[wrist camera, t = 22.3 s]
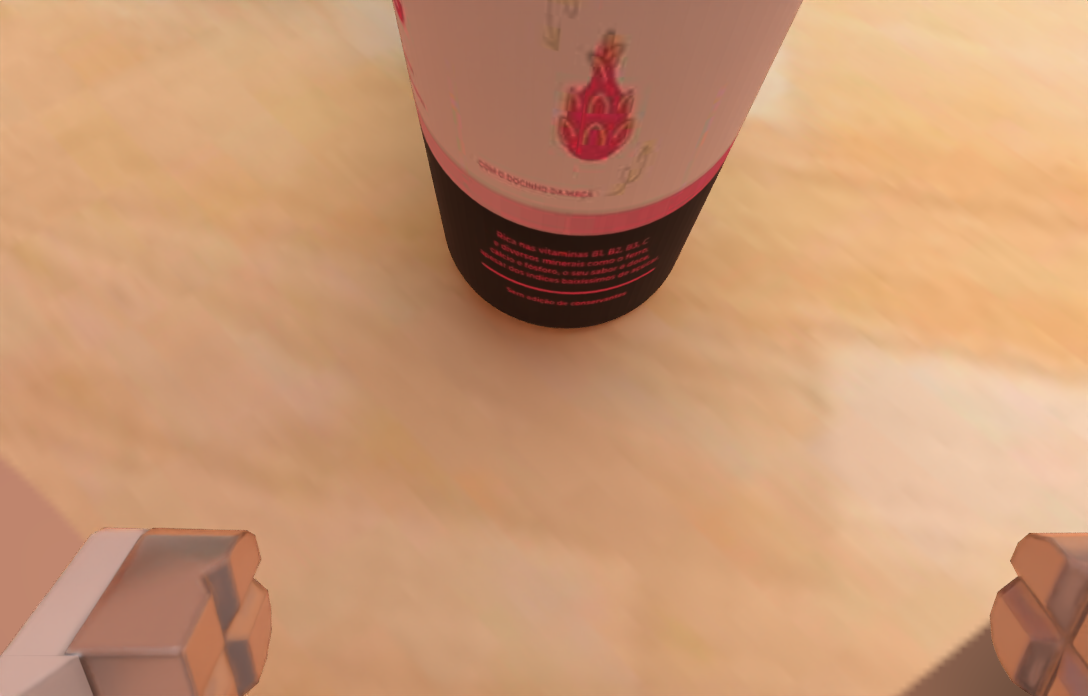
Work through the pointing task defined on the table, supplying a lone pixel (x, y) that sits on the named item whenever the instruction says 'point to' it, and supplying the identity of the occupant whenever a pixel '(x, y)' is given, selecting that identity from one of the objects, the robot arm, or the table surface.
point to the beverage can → (580, 137)
